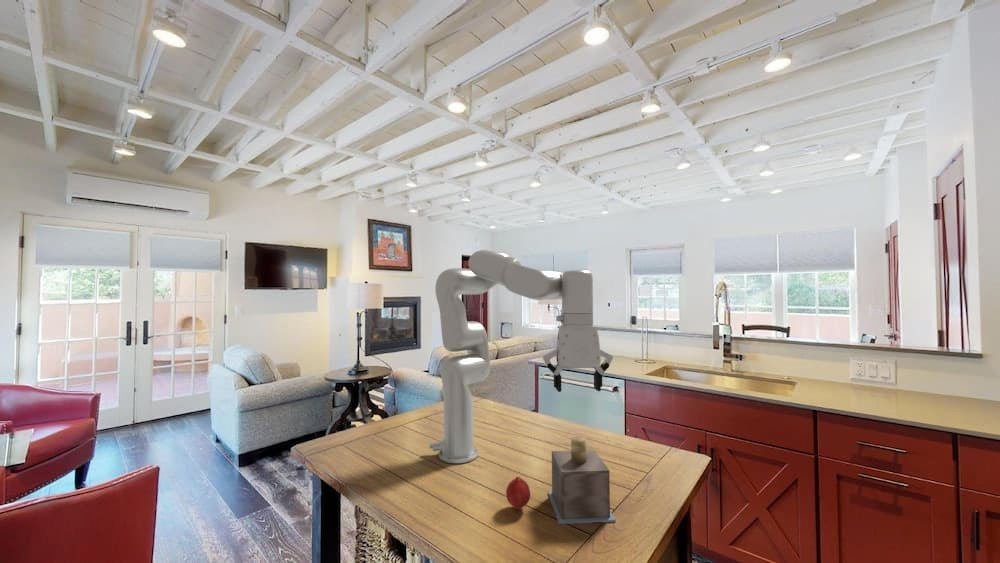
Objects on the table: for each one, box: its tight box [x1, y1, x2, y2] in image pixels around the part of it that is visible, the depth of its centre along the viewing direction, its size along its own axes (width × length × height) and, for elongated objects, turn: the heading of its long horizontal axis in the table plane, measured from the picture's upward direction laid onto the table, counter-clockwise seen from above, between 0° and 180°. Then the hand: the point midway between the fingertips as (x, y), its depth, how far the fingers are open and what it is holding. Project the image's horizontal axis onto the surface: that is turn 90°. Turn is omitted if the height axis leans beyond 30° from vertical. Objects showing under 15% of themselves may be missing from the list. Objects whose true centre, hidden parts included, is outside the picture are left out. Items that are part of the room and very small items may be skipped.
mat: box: [547, 490, 616, 525], centre depth 91 cm, size 13×13×1 cm
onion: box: [505, 475, 531, 511], centre depth 90 cm, size 6×6×8 cm
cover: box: [551, 436, 611, 519], centre depth 91 cm, size 11×11×16 cm
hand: (577, 390), depth 92 cm, fingers open, 9 cm apart
